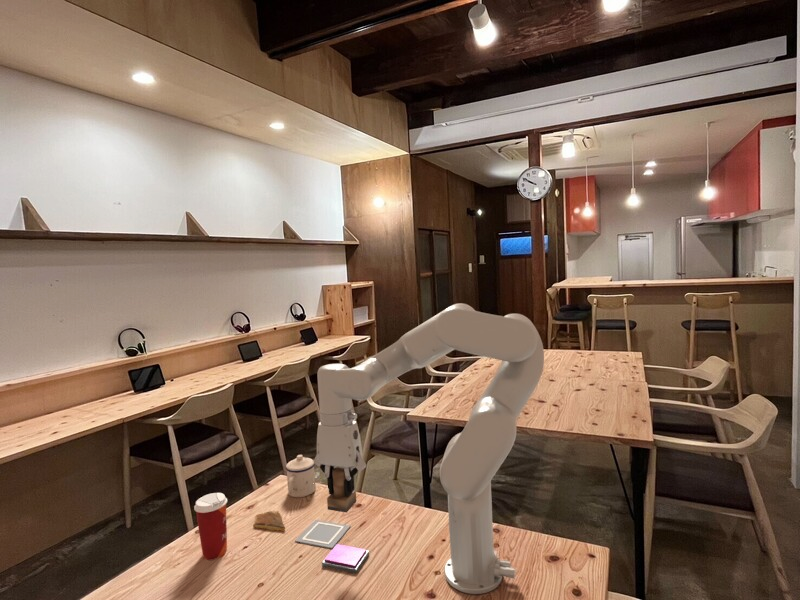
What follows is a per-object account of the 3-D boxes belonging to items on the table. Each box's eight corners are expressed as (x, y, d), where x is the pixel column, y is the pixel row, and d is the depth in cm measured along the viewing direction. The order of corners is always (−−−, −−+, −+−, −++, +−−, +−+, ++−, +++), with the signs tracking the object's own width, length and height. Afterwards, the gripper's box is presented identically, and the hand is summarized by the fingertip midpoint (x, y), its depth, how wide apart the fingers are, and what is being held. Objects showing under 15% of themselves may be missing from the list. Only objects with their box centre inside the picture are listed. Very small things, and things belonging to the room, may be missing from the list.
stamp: (356, 501, 105) (354, 466, 104) (346, 512, 100) (344, 475, 100) (338, 498, 107) (335, 464, 106) (327, 509, 102) (325, 473, 101)
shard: (285, 533, 118) (285, 526, 118) (256, 542, 114) (255, 535, 114) (279, 514, 128) (278, 508, 127) (251, 522, 124) (251, 516, 124)
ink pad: (369, 554, 106) (368, 548, 106) (356, 573, 99) (355, 567, 99) (336, 548, 109) (336, 542, 109) (322, 566, 102) (321, 560, 102)
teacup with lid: (296, 483, 146) (293, 449, 145) (321, 485, 143) (318, 450, 143) (277, 501, 134) (274, 465, 133) (304, 504, 132) (301, 466, 131)
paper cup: (236, 551, 110) (232, 497, 110) (206, 567, 105) (201, 510, 104) (222, 539, 116) (218, 488, 115) (193, 554, 110) (188, 500, 109)
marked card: (350, 526, 118) (350, 525, 118) (332, 548, 109) (332, 547, 109) (315, 520, 122) (315, 519, 122) (295, 541, 113) (294, 540, 113)
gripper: (375, 414, 103) (379, 489, 104) (314, 410, 109) (319, 481, 110) (361, 425, 96) (366, 505, 97) (297, 420, 102) (302, 496, 103)
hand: (341, 492), depth 103 cm, fingers closed on stamp, 3 cm apart
